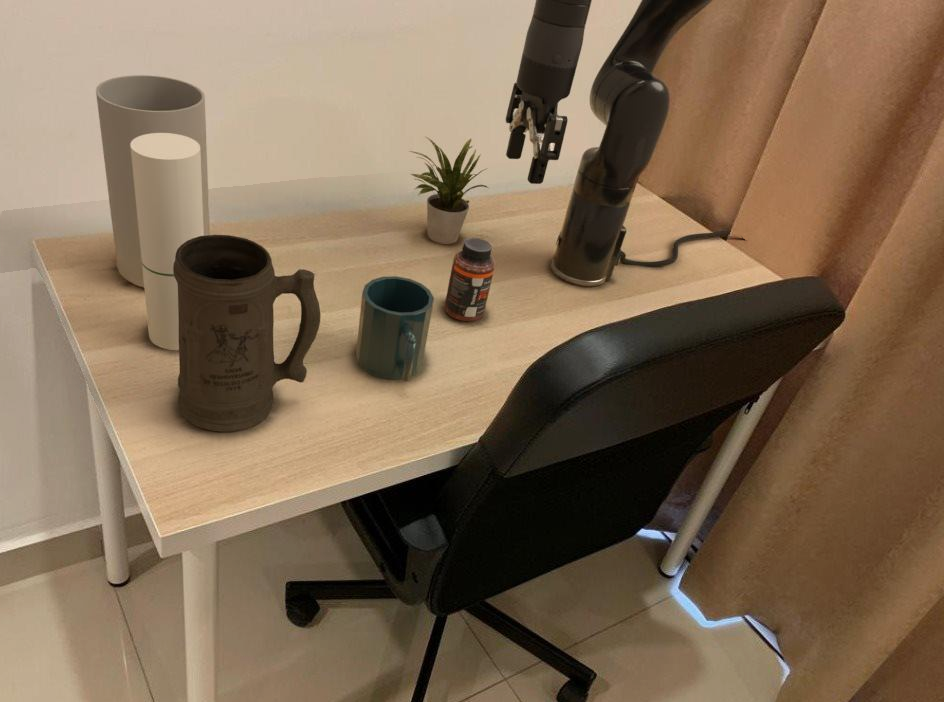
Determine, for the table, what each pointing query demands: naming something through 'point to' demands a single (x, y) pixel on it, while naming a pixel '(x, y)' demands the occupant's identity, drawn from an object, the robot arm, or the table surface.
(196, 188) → the cylindrical container
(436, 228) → the house plant
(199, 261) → the beer stein
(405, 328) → the mug
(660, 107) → the robot arm
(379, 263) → the table surface
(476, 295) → the supplement bottle
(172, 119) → the cylinder vase
